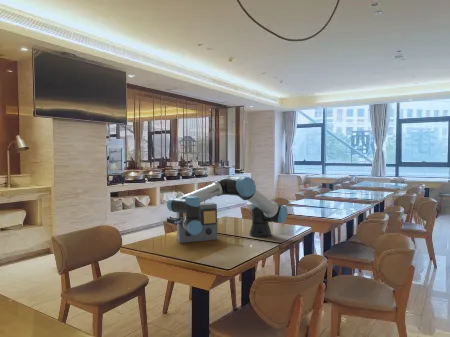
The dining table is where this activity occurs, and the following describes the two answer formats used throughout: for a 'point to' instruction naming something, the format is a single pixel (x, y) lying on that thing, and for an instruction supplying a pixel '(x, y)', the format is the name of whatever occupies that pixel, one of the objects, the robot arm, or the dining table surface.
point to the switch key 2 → (209, 216)
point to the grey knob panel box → (207, 229)
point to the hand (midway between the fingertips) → (181, 217)
